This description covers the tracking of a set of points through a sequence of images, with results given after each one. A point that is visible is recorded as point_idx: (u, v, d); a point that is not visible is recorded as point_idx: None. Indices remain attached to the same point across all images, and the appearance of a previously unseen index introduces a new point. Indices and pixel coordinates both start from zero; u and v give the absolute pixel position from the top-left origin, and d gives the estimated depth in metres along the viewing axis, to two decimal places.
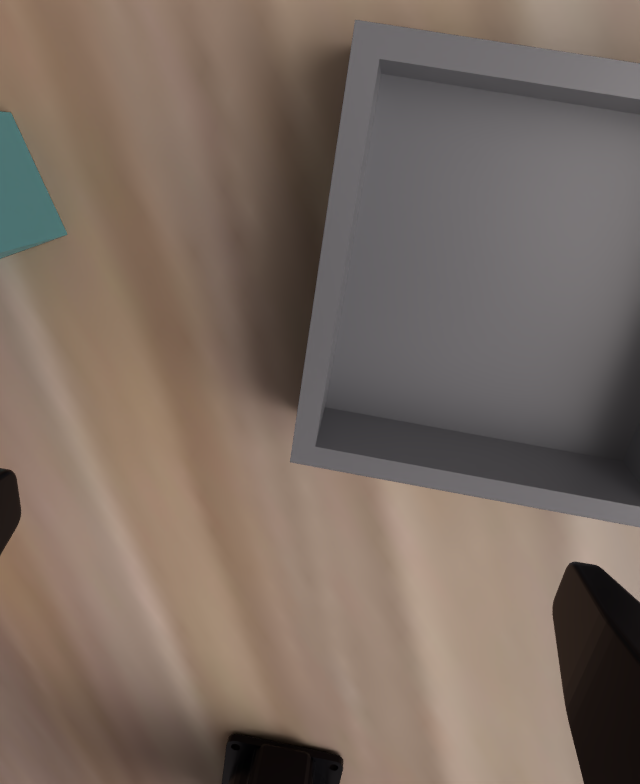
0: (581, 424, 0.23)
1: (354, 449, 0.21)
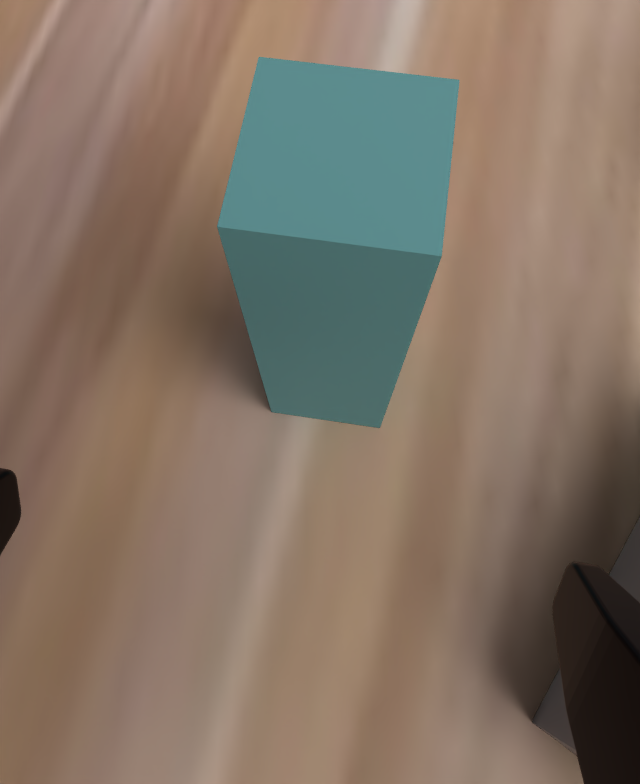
0: None
1: None
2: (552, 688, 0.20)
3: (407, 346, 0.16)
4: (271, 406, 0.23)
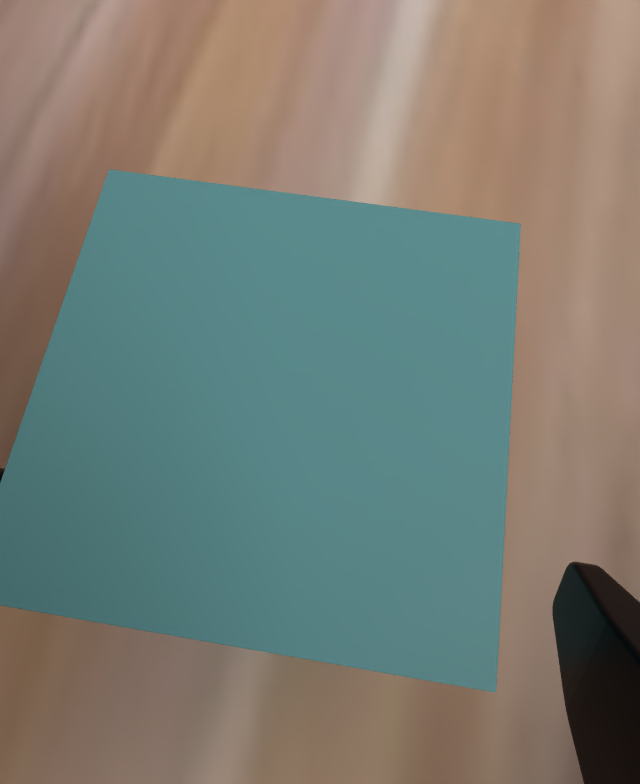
0: None
1: None
2: None
3: None
4: None
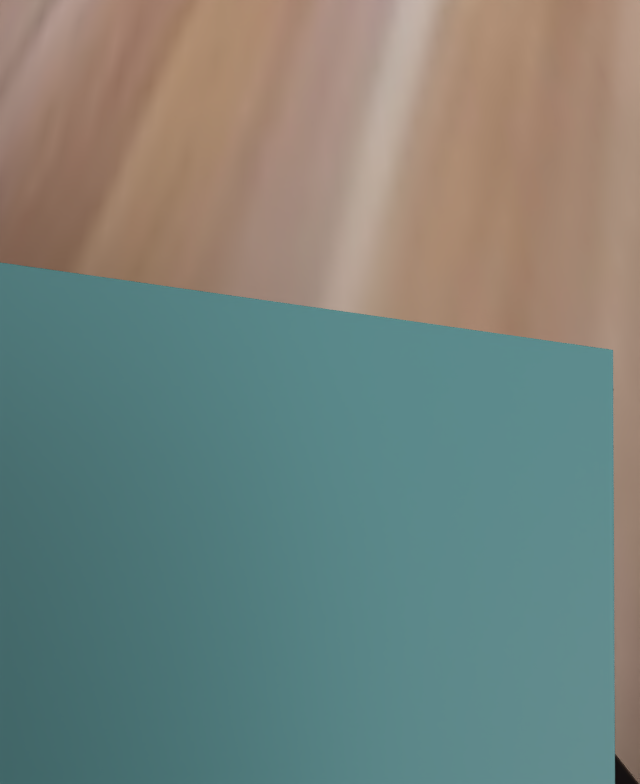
0: None
1: None
2: None
3: None
4: None
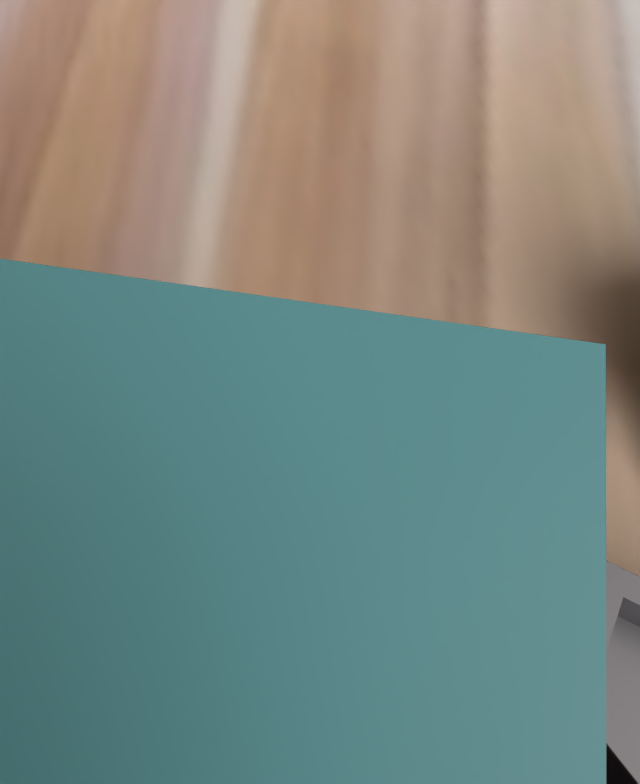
0: None
1: None
2: None
3: None
4: None
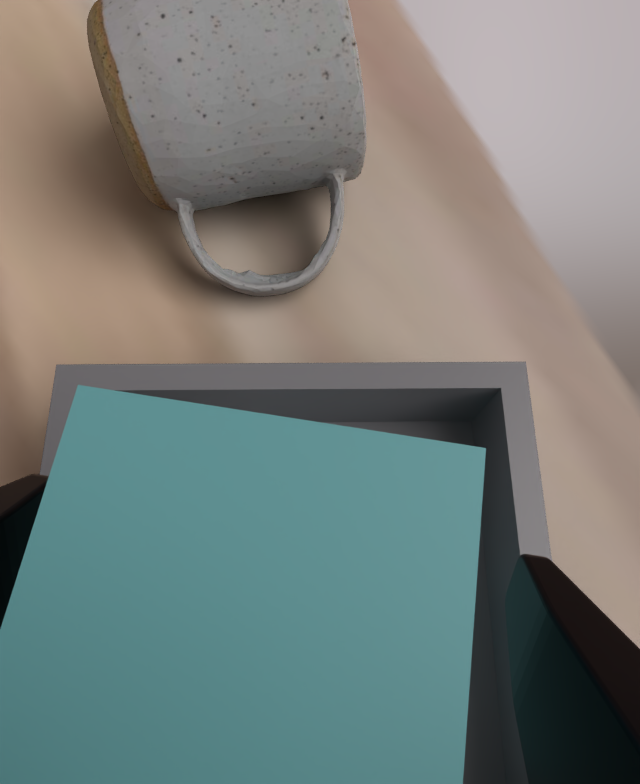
0: None
1: None
2: None
3: None
4: None
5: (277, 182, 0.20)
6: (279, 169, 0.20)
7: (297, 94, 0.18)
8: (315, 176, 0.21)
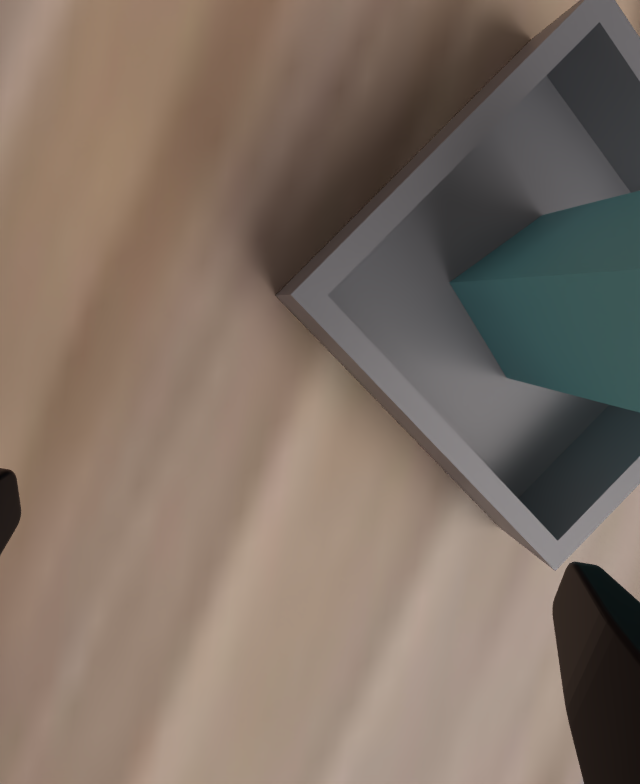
0: (499, 453, 0.23)
1: (354, 326, 0.18)
2: (302, 269, 0.21)
3: None
4: (459, 283, 0.21)
5: None
6: None
7: None
8: None
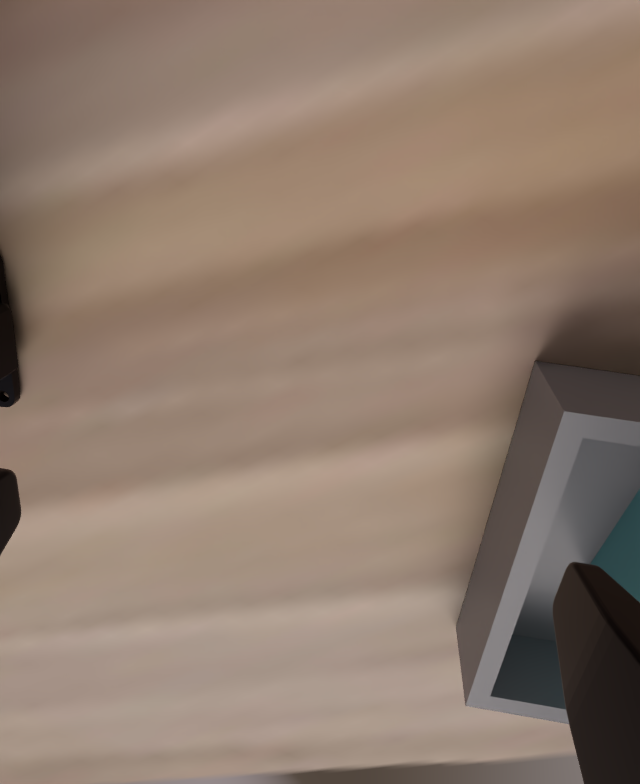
0: None
1: (566, 468, 0.19)
2: (574, 369, 0.21)
3: None
4: None
5: None
6: None
7: None
8: None
